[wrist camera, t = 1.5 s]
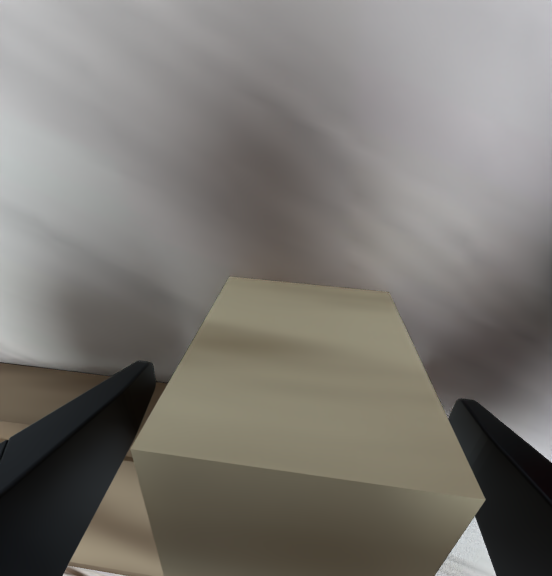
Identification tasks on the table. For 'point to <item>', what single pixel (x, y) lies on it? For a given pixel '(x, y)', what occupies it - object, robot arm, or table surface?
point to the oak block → (302, 443)
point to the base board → (123, 490)
